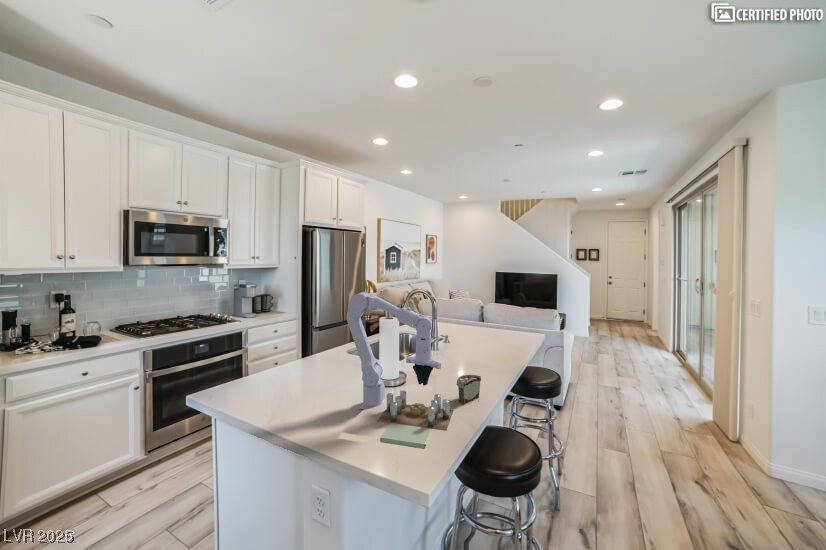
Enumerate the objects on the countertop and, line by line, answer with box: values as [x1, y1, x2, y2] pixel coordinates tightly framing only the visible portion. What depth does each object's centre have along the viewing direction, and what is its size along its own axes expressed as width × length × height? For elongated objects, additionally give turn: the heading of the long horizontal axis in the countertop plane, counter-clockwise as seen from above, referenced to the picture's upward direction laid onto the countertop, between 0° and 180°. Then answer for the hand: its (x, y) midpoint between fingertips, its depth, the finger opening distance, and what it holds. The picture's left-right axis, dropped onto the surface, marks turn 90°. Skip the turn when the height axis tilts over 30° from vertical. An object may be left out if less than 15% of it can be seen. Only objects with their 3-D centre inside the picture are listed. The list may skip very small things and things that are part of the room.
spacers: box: [386, 389, 451, 427], centre depth 124 cm, size 13×23×6 cm, turn 75°
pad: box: [379, 423, 432, 450], centre depth 112 cm, size 10×14×2 cm
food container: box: [456, 374, 482, 405], centre depth 140 cm, size 12×6×10 cm, turn 134°
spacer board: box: [376, 403, 454, 431], centre depth 124 cm, size 16×24×2 cm, turn 75°
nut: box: [409, 402, 427, 416], centre depth 126 cm, size 6×5×3 cm
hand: (423, 384), depth 133 cm, fingers closed
